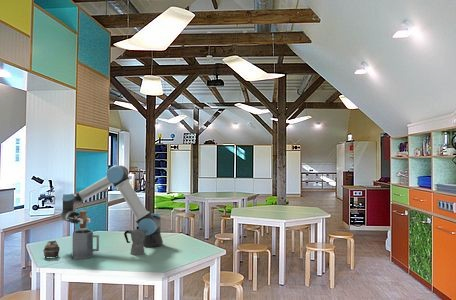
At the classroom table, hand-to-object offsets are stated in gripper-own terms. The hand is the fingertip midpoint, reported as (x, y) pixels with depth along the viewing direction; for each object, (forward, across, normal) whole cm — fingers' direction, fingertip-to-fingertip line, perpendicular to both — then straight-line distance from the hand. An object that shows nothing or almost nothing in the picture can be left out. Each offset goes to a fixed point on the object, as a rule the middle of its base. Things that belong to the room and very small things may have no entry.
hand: (86, 221), depth 246 cm
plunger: (-5, 0, -17) cm, 18 cm away
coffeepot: (+10, -30, -24) cm, 39 cm away
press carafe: (-4, -1, -23) cm, 24 cm away
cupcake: (-18, +15, -24) cm, 34 cm away
